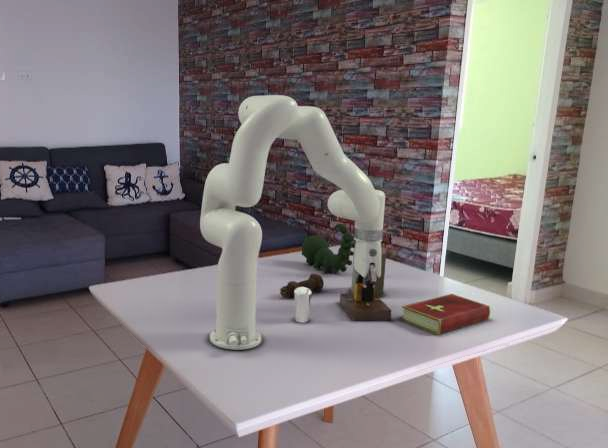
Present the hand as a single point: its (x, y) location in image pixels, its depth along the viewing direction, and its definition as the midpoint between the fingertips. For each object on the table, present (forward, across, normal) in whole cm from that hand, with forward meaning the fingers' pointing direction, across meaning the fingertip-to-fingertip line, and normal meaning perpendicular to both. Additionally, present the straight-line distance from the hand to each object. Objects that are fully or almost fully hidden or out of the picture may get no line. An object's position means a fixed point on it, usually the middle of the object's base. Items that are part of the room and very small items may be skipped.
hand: (363, 297), depth 158 cm
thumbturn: (+1, 0, 0) cm, 1 cm away
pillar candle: (+4, +15, -6) cm, 17 cm away
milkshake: (+4, -8, +19) cm, 21 cm away
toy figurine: (+4, +41, +1) cm, 41 cm away
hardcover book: (+4, -8, -20) cm, 22 cm away
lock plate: (+4, -1, 0) cm, 4 cm away
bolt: (+4, +14, +15) cm, 21 cm away
